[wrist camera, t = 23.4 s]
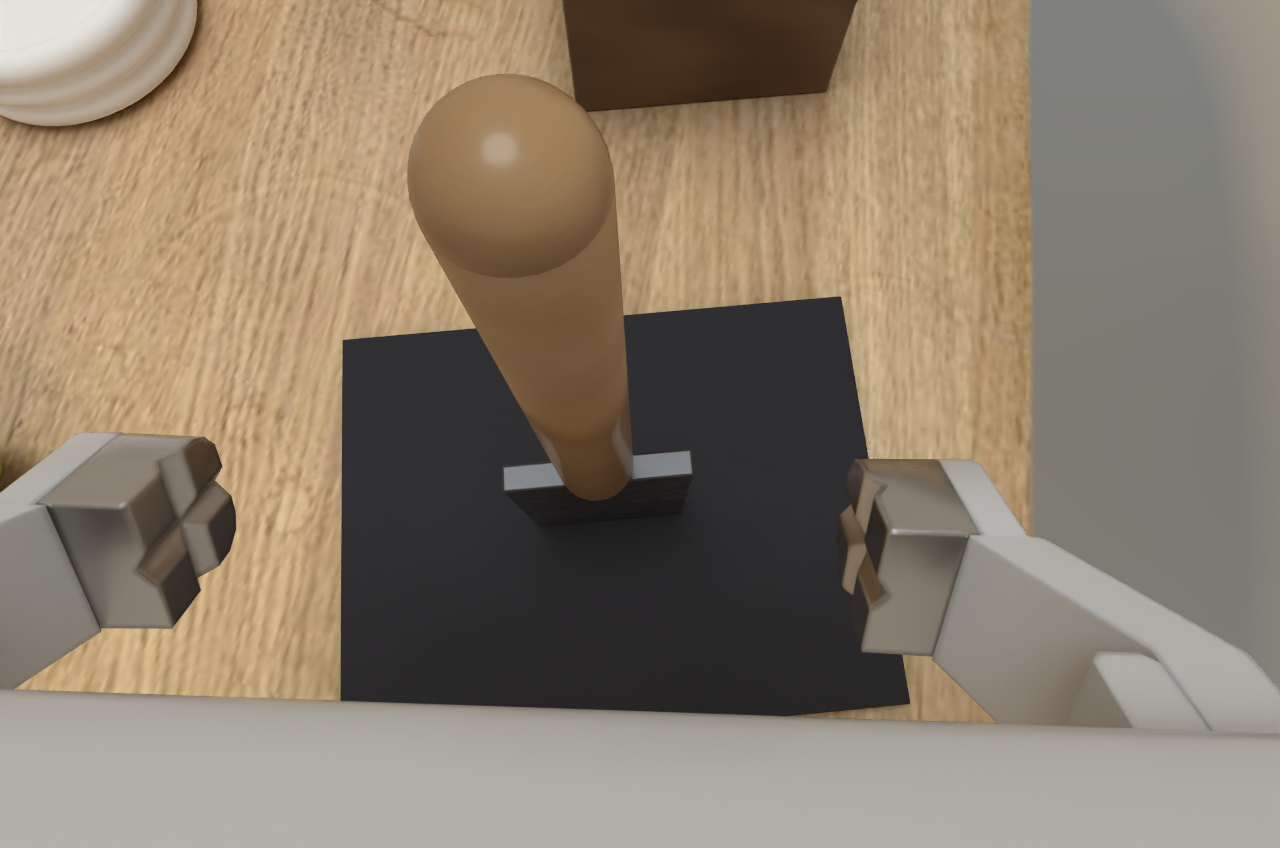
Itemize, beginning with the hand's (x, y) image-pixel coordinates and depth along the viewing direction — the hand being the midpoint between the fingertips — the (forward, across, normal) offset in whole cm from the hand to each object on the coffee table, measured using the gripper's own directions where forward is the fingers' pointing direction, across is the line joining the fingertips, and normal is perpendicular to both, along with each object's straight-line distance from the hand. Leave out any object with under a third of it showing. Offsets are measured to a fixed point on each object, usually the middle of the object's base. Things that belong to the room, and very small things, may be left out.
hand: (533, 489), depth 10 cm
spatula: (+13, 0, +10) cm, 16 cm away
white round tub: (+27, +22, -3) cm, 35 cm away
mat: (+13, 0, +10) cm, 17 cm away
